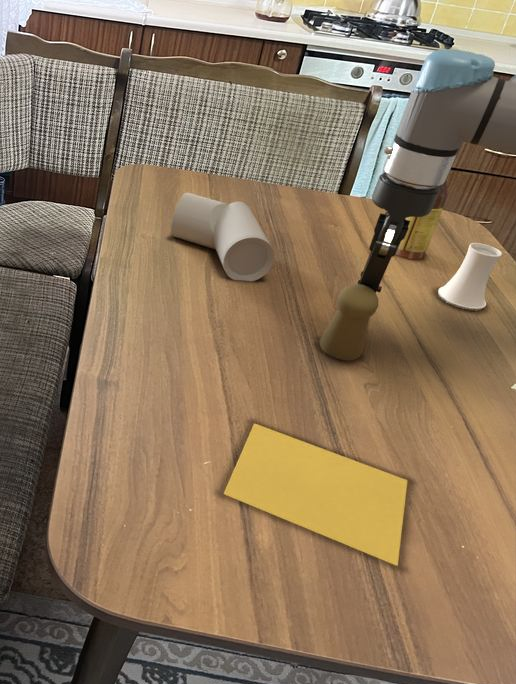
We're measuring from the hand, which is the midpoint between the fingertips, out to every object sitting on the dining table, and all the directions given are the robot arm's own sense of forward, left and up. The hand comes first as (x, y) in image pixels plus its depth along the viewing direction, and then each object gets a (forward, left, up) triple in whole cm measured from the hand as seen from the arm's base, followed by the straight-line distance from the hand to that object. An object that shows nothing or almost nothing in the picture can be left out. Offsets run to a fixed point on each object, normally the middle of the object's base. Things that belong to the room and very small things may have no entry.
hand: (349, 329), depth 102 cm
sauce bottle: (-6, -41, -2) cm, 41 cm away
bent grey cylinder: (+24, -16, -2) cm, 29 cm away
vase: (-16, -26, -2) cm, 30 cm away
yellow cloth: (-2, +35, -2) cm, 35 cm away
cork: (0, +3, -1) cm, 4 cm away
